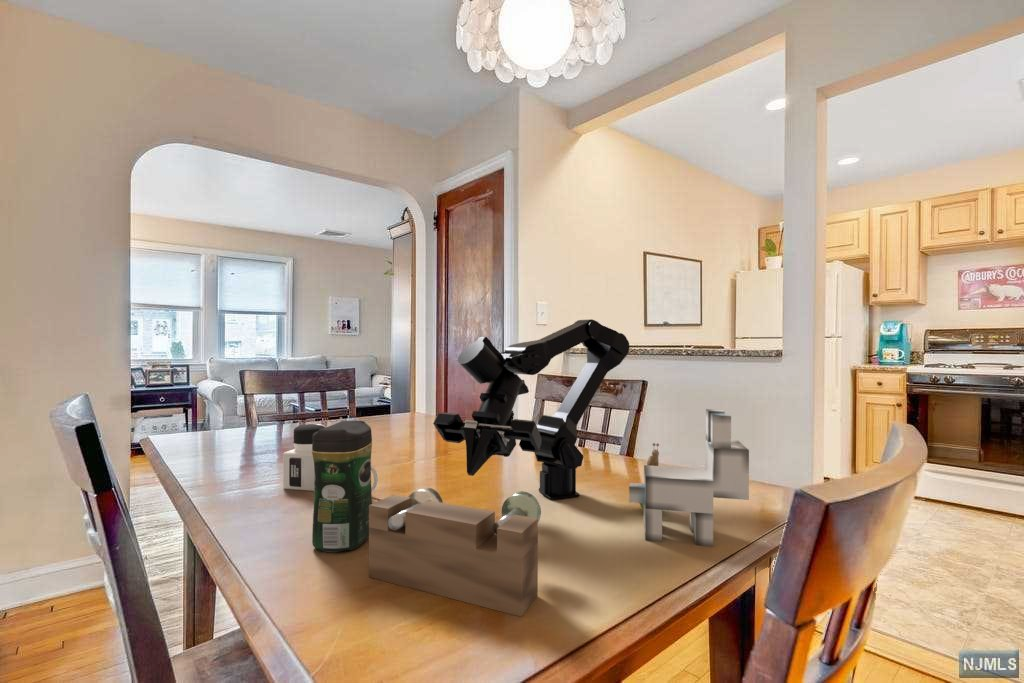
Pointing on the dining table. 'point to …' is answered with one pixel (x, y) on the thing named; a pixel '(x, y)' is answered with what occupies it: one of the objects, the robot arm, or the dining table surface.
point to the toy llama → (696, 483)
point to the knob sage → (519, 508)
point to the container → (300, 459)
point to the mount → (456, 553)
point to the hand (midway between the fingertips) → (469, 474)
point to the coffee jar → (341, 485)
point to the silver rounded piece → (414, 505)
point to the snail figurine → (652, 462)
